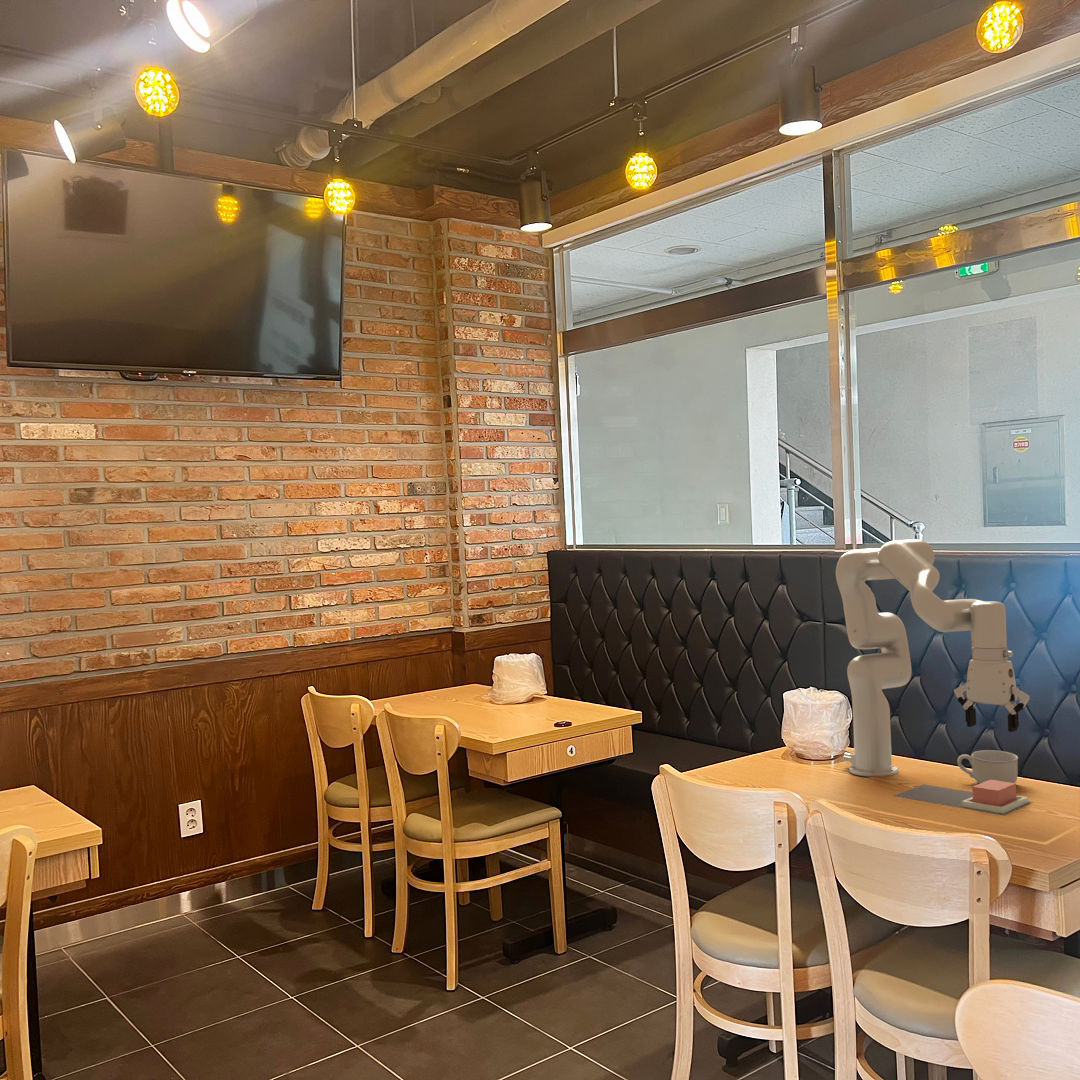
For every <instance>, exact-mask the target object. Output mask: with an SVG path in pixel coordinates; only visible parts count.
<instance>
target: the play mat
mask: <svg viewBox="0 0 1080 1080" xmlns="http://www.w3.org/2000/svg"><path fill="white" fill-rule="evenodd" d="M892 796H893V797H898V798H904V799H910V800H915V801H920V802H927V803H931V804H936V805H937V804H939V805H943V806H949V807H955V808H959V809H964V810H965V809H966V810H972V811H976V812H977V811H978V812H982V813H987V814H995V815H1000V816H1007V815H1008V814H1010V813H1012V812H1015V811H1018V810H1020V809H1022V808H1024V807H1026V806H1029V805H1030V804H1032V803H1033V804H1034V801H1029V800H1028V803H1026V804H1024V805H1022V806H1019V807H1017V808H1015V809H1013V810H1010V811H1008V812H1006V813H1004V814H1003V813H997V812H992V811H986V810H980V809H975V808H969V807H963V806H962V801H963V800H966V799H968V798H971V797H973V791H968V790H962V789H955V788H949V787H943V786H938V785H931V784H925V783H924V784H921V785H918V786H915V787H912V788H911V789H907V790H905V791H902V792H900V793H896V794H894V795H892Z"/></svg>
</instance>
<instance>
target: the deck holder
mask: <svg viewBox="0 0 1080 1080" xmlns="http://www.w3.org/2000/svg"><path fill="white" fill-rule="evenodd" d="M1016 799H1017V800H1016V801H1014V802H1011V803H1009V804H1007V805H1005V806H1002V807H999V806H993V805H987V804H981V803H976V802H973V797H971V798H968V799H966V800H963V801H962V806H963V807H969V808H975V809H980V810H986V811H992V812H997V813H1003V814H1004V813H1006V812H1008V811H1010V810H1013V809H1015V808H1017V807H1019V806H1022V805H1024V804H1026V803H1028V801H1029V797H1028V796H1022V795H1016Z"/></svg>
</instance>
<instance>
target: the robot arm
mask: <svg viewBox="0 0 1080 1080" xmlns="http://www.w3.org/2000/svg"><path fill="white" fill-rule="evenodd" d="M935 560H936V559H935V551H934V549H933V548H932V547H931V545H930V544H929V543H928V542H927V541H924V540H923V539H922V540H921V539H898V540H897V539H896V540H891V541H888V542H885V544H883V545H882V546H881V547H880V548H879V547H878V548H859V549H853V550H850V551H847V552H845V553H843V554H842V555H841V556H840V557H839V560H838V561H837V563H836V567H835V579H836V583H837V587H838V589H839V593H840V595H841V596H840V597H841V600H842V604H843V612H844V619H845V620H844V621H845V628H846V633H847V637H848V638H847V639H848V642H849V643H850V645H851V646H852V647H853V648H855V649H856V650H874V649H875V650H876V649H880V651H881V653H878V652H877V653H870V654H862V655H858V656H856V657H854V658H852V659H851V660H850V662H849V663H848V665H847V669H846V672H847V673H846V674H847V681H848V683H849V688H850V692H851V702H852V703H851V704H852V705H851V706H852V720H853V721H852V723H853V726H852V727H853V750H854V751H853V753H851V752H844V753H843V756H842V760H843V761H844V762H850V765H849V767H848V772H850V773H851V774H852V775H856V776H860V777H869V778H871V777H886V776H893V775H897V774H898V773H899V768H898V767H897V766H896V765H893V762H892V760H893V759H892V735H891V733H892V732H891V710H890V703H889V701H888V699H887V697H886V695H885V694H884V692H883V690H886V689H894V688H900V687H903V686H906V685H907V684H908V683H909V682H910V680H911V677H912V673H913V672H912V662H911V655H910V654H911V653H910V648H909V641H908V635H907V631H906V627H905V625H904V623H903V621H902V619H901V618H900V617H899V616H898V615H896V614H894V613H892V612H878V609H877V601H876V597H875V595H874V593H873V591H872V589H871V587H869V586H868V584H866V582H867V581H879V580H894V579H895V580H896V581H898V582H899V584H901V585H902V586H903V587H904V588H906V590H907V591H909V592H910V602H911V606H912V608H913V610H914V612H915V614H916V615H917V616H918V617H919V618H920V619H921V620H923V622H925V624H926V625H928V626H930V628H932V629H933V630H935V631H937V632H941V633H951V632H966V631H967V632H968V631H970V638H971V659H969V661H968V662H969V663H968V667H967V675H966V683H965V684H962V685H961V686H959V687H957V688H956V687H955V688H954V689H953V693H954V694H955V696H956V698H957V702H958V703H960V705H961V706H962V708H963V710H965V711H964V712H965V714H964V717H965V722H966V726H967V728H971V727H974V726H976V725H977V712H976V708H974V707H975V705H976V704H983V705H984V704H985V705H995V706H1004V707H1005V708H1006V709H1007V711H1008V712H1009V713H1008V715H1007V730H1008V732H1009V733H1013V732H1015V731H1018V728H1019V724H1020V722H1019V721H1020V720H1019V714H1020V713H1021V712H1022V711H1023V710H1024V709H1025V708H1026V706H1027V704H1028V703H1029V700H1030V697H1031V696H1030V695H1029V694H1027V693H1026V692H1024V691H1022V690H1020V689H1019V688H1018V687H1017V683H1016V677H1015V671H1014V670H1015V669H1014V667H1013V663H1012V660H1008V659H1009V658H1012V657H1014V652H1013V651H1012V650H1009V648H1008V645H1007V642H1008V641H1007V638H1008V637H1007V613H1006V612H1007V611H1006V605H1005V604H1004V603H1003V602H1001V601H994V600H993V601H992V600H991V601H990V600H986V601H985V600H981V599H975V598H963V599H960V598H959V599H947V600H946V599H945V600H943V599H941V598H940V597H939V596H938V595H936V594H935V593H934V590H935V589H936V587H937V586H938V584H939V582H940V572H939V570H938V569H937V568H936V567H935V566H934V565H933V564H934V562H935ZM965 691H966V697H967V698H966V697H965V695H964V692H965ZM1018 698H1019V699H1020V700H1019V702H1018V704H1016V702H1017V699H1018Z"/></svg>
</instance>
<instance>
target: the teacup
mask: <svg viewBox="0 0 1080 1080" xmlns="http://www.w3.org/2000/svg"><path fill="white" fill-rule="evenodd" d="M963 759H966V760H968V762H969V764H970V765H971V770H970V769H968V768H966V766H964V765H963V764H962V763H963V762H962V761H963ZM1018 760H1019V756H1018V755H1016V754H1014V753H1012V752H1009V751H1004V750H1003V751H1002V750H996V749H995V750H993V749H991V750H990V749H986V750H985V749H984V750H983V749H982V750H976V751H973V752H972V753H971V755H969V754H967V753H966V754H961V755H959V756H958V758H957V761H956V763H957V767H958V768H959V769H960V770H961V771H963V772H964V773H965V774H968V775H969V777H970V778H971V779H974V780H975V781H976V782H977V783H978V784H980V783H983V782H985V781H988V780H997V781H1003V782H1010V783H1016V782H1017V780H1018V774H1019V772H1018V771H1019V769H1018V765H1019V764H1018V762H1019V761H1018Z"/></svg>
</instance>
